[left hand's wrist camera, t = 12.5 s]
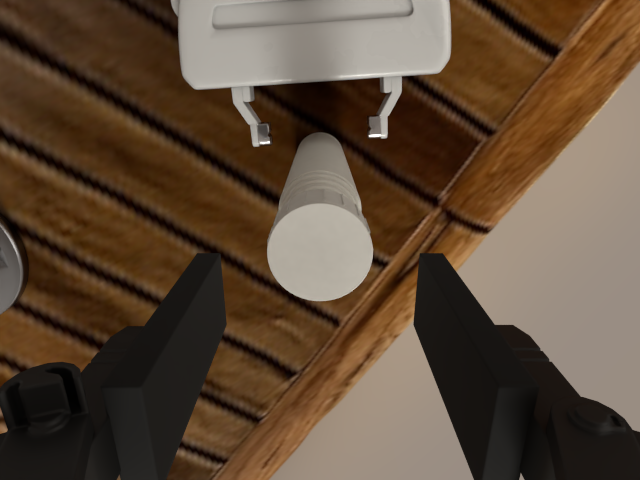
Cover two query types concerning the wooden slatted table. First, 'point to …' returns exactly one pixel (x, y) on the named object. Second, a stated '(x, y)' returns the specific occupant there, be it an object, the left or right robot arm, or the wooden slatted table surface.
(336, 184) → the bottle
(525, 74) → the wooden slatted table surface
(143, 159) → the wooden slatted table surface
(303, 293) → the cap
